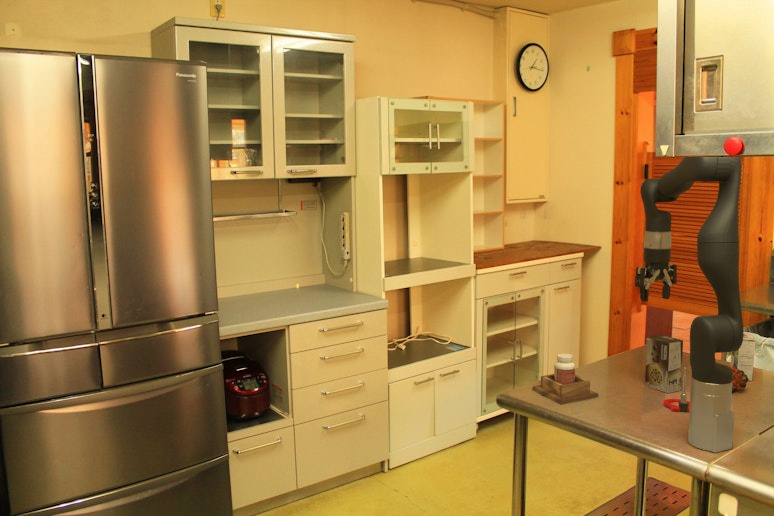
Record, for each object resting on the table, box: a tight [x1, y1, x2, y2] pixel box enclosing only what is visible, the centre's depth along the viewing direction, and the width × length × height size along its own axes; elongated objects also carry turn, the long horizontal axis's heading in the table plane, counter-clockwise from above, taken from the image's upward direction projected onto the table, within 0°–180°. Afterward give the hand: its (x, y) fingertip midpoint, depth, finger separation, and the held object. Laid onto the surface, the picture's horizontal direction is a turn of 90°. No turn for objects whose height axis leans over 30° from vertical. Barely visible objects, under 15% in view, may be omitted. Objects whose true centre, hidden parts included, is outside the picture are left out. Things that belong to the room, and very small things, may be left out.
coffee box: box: [644, 334, 684, 394], centre depth 206 cm, size 9×6×16 cm
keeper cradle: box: [532, 373, 599, 406], centre depth 203 cm, size 14×14×5 cm
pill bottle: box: [553, 353, 576, 385], centre depth 202 cm, size 6×6×11 cm
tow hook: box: [662, 366, 690, 413], centre depth 191 cm, size 8×13×9 cm
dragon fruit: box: [725, 364, 749, 392], centre depth 204 cm, size 8×8×12 cm
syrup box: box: [729, 332, 756, 382], centre depth 214 cm, size 6×6×14 cm
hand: (655, 299), depth 196 cm, fingers open, 8 cm apart
